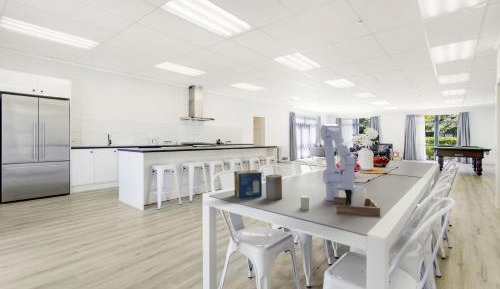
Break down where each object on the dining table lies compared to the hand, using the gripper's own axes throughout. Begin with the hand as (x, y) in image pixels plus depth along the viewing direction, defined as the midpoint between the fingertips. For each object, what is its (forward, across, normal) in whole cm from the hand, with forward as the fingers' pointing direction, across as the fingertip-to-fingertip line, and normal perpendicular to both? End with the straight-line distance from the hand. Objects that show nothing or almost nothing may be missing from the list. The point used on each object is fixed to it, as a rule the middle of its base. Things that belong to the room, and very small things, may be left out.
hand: (348, 204), depth 130 cm
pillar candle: (+2, -41, +11) cm, 42 cm away
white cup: (+1, +4, +1) cm, 4 cm away
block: (+2, -22, -7) cm, 23 cm away
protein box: (+2, -58, +14) cm, 60 cm away
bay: (+1, +3, -3) cm, 4 cm away
